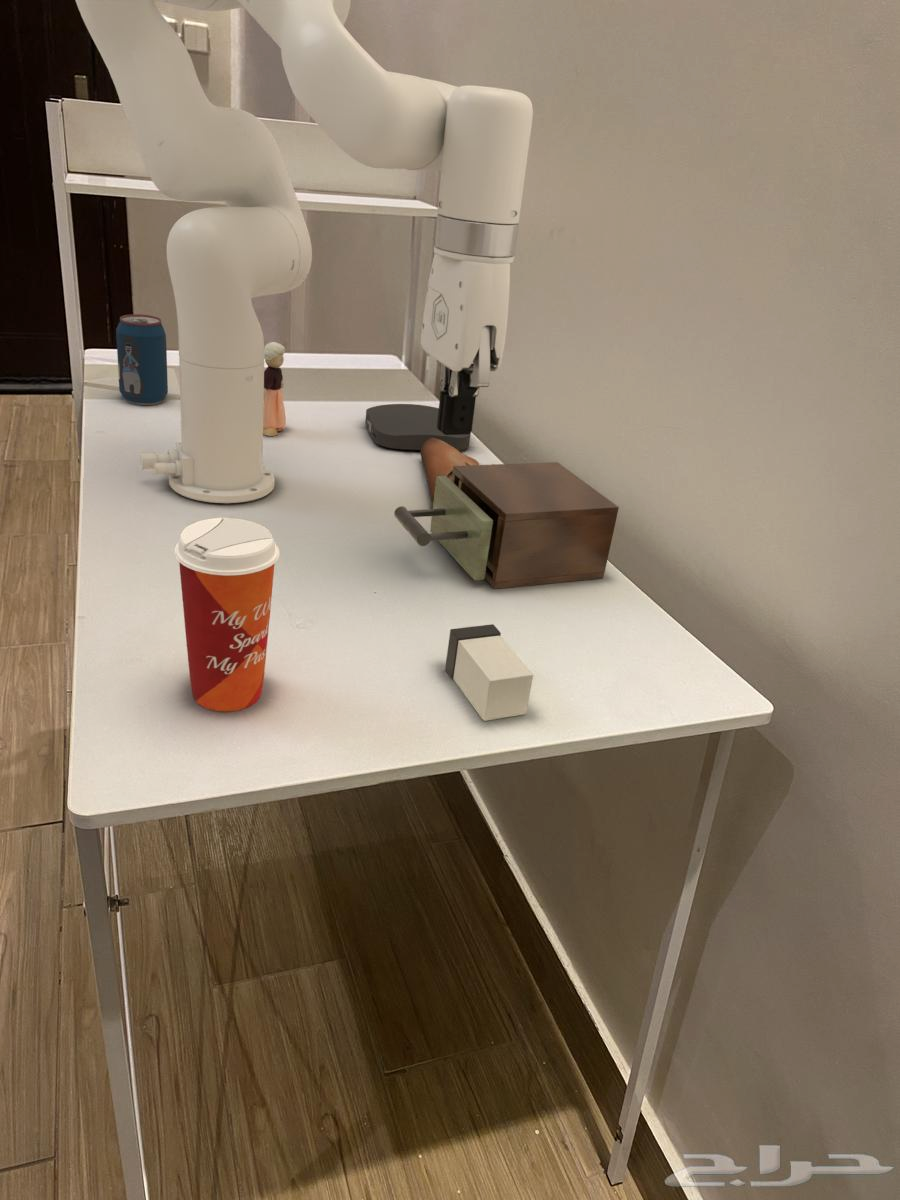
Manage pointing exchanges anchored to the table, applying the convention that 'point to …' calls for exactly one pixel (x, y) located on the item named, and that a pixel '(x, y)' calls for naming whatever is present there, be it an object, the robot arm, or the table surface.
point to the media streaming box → (408, 427)
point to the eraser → (488, 672)
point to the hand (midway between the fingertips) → (453, 431)
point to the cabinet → (543, 522)
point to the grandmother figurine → (273, 390)
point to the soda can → (142, 359)
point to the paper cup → (226, 608)
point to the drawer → (458, 526)
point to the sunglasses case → (441, 461)
